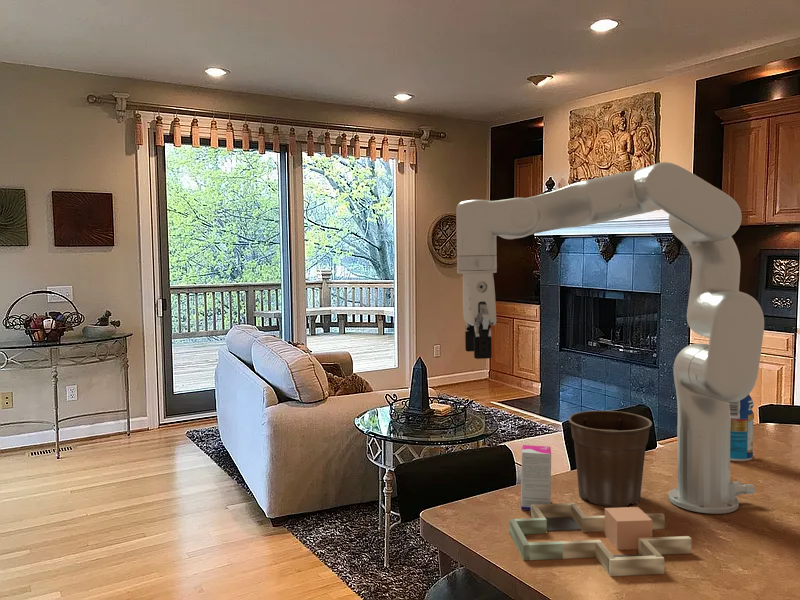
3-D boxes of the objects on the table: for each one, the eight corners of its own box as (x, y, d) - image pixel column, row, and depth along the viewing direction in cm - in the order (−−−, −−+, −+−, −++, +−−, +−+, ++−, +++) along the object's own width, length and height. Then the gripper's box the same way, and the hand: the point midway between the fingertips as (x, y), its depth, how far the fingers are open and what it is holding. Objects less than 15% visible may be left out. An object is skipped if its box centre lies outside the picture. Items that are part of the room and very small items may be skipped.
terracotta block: (637, 534, 118) (637, 506, 117) (652, 549, 112) (652, 520, 111) (604, 535, 117) (604, 508, 117) (617, 550, 111) (617, 521, 111)
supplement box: (551, 511, 128) (551, 453, 128) (520, 510, 130) (520, 452, 129) (550, 501, 134) (550, 445, 133) (521, 499, 135) (520, 444, 135)
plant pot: (659, 514, 126) (659, 430, 125) (572, 510, 129) (571, 428, 128) (643, 485, 142) (643, 411, 141) (566, 482, 145) (565, 409, 144)
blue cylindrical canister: (706, 454, 163) (707, 373, 162) (734, 450, 166) (735, 371, 164) (733, 464, 155) (734, 379, 154) (761, 460, 157) (763, 376, 156)
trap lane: (647, 512, 127) (647, 500, 127) (711, 571, 103) (711, 556, 103) (502, 518, 126) (502, 505, 125) (533, 579, 102) (533, 563, 101)
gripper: (506, 265, 118) (507, 360, 119) (487, 264, 135) (488, 348, 136) (464, 266, 117) (466, 362, 118) (450, 265, 135) (452, 349, 136)
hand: (478, 354), depth 127 cm, fingers open, 9 cm apart
